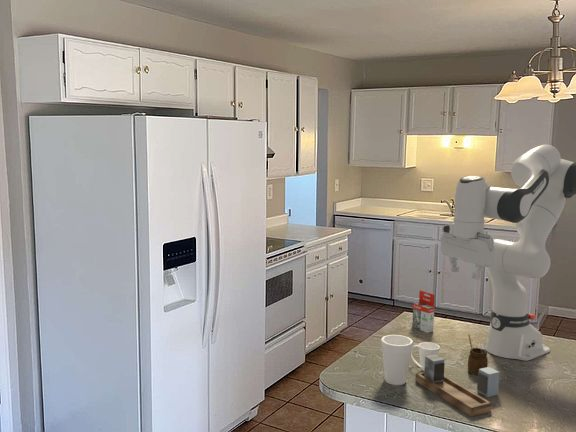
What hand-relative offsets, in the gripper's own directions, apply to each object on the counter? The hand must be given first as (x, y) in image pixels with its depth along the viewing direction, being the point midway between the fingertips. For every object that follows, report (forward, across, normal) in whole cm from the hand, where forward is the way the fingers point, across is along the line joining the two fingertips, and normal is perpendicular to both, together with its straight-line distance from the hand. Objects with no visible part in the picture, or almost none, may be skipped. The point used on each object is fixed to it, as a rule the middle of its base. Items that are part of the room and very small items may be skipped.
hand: (465, 275), depth 173 cm
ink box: (+33, +41, -17) cm, 55 cm away
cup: (+33, +11, +5) cm, 35 cm away
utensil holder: (+33, +2, -9) cm, 34 cm away
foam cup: (+34, +6, +19) cm, 39 cm away
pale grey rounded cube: (+33, -11, -1) cm, 35 cm away
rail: (+33, -8, +10) cm, 36 cm away
